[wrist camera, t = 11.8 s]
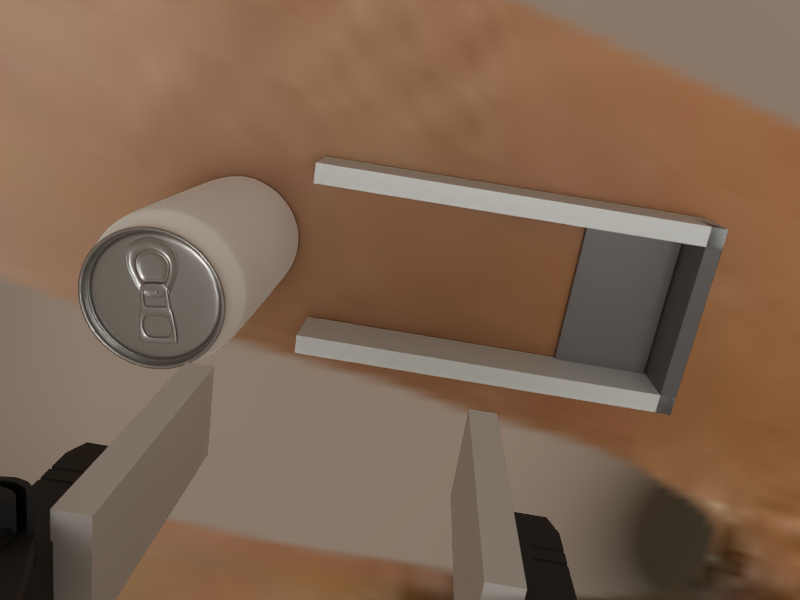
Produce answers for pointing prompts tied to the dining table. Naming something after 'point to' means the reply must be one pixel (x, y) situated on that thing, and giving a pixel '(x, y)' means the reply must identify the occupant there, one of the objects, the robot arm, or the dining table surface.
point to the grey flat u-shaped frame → (587, 304)
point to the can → (187, 271)
